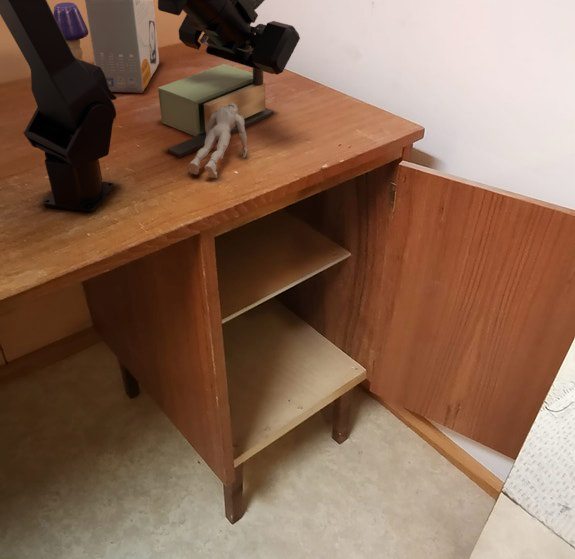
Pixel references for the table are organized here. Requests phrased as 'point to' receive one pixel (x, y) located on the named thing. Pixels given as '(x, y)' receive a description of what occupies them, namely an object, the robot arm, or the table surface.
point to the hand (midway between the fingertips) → (264, 67)
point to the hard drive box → (124, 42)
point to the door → (241, 99)
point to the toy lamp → (71, 26)
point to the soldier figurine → (220, 137)
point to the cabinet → (201, 102)
